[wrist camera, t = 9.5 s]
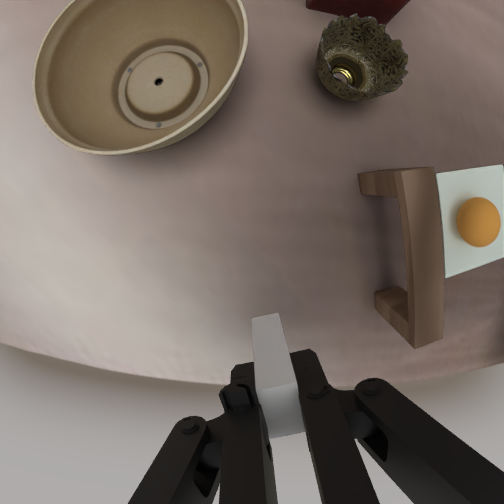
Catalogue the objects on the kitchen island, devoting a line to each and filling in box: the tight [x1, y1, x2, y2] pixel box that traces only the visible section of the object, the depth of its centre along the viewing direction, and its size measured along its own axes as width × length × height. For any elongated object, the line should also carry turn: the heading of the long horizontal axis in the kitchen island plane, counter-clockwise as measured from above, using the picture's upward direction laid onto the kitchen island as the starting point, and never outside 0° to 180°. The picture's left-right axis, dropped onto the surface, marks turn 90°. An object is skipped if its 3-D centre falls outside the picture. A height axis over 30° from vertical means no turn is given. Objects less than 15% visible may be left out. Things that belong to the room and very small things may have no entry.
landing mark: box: [436, 164, 504, 278], centre depth 30 cm, size 12×12×1 cm
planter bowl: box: [33, 0, 249, 155], centre depth 21 cm, size 16×16×11 cm
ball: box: [457, 197, 501, 247], centre depth 27 cm, size 6×6×6 cm
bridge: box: [358, 167, 444, 349], centre depth 26 cm, size 3×14×9 cm, turn 12°
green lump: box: [316, 14, 408, 101], centre depth 23 cm, size 8×7×8 cm
